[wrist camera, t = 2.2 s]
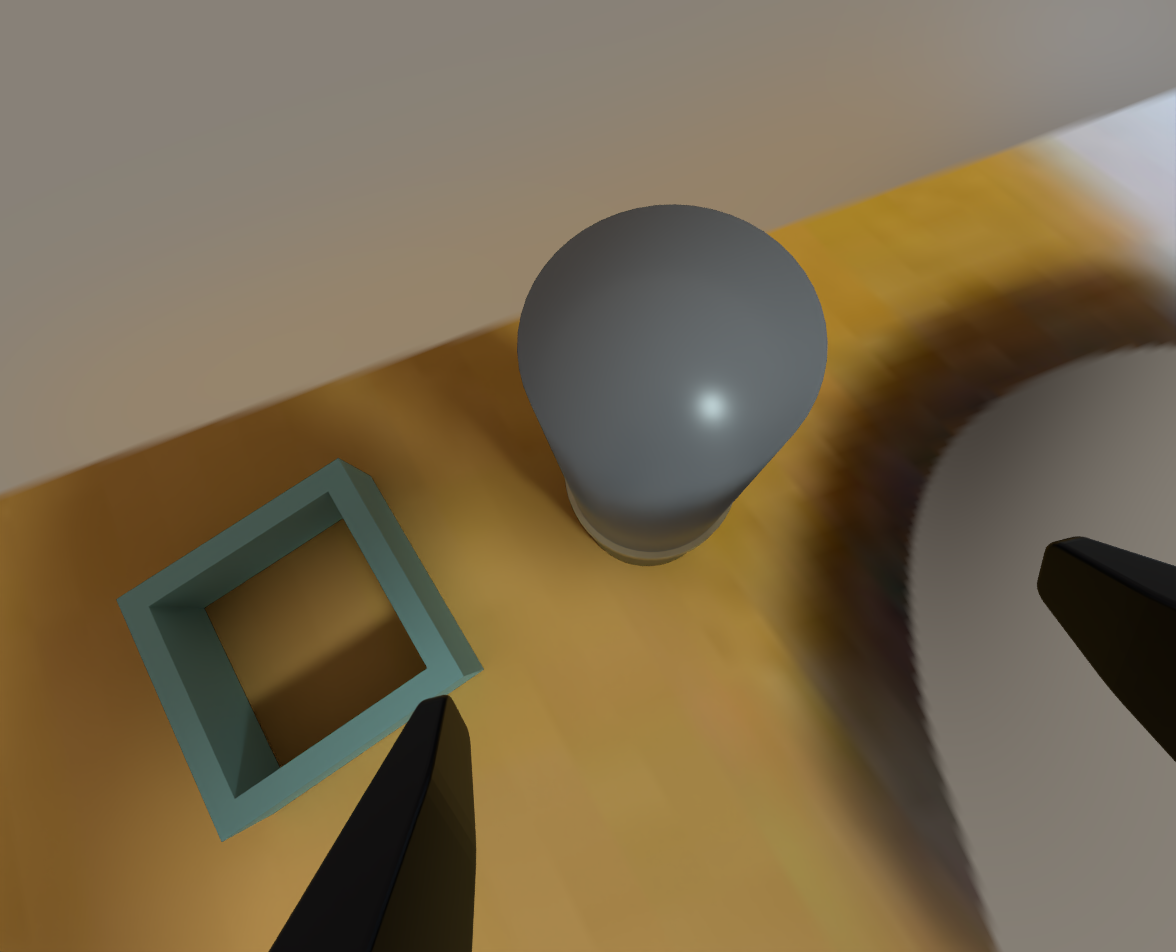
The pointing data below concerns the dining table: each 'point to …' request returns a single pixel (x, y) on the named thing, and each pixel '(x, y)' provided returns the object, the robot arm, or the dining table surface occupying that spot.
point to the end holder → (207, 680)
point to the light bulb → (668, 370)
